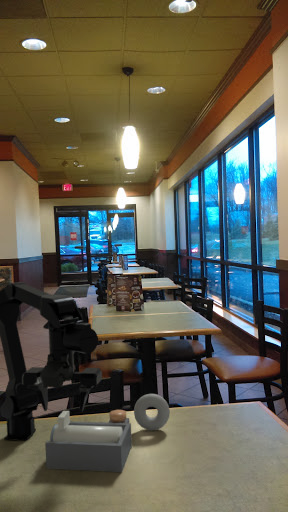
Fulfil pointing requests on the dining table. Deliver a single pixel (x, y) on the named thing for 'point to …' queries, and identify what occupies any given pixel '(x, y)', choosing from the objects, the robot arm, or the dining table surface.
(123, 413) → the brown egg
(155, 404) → the donut
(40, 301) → the robot arm
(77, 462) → the housing
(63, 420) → the cartridge
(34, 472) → the dining table surface
